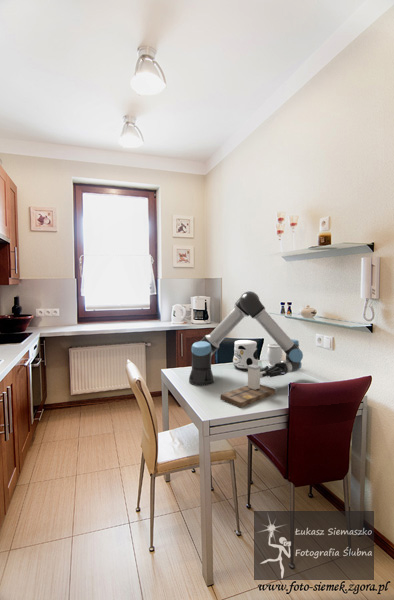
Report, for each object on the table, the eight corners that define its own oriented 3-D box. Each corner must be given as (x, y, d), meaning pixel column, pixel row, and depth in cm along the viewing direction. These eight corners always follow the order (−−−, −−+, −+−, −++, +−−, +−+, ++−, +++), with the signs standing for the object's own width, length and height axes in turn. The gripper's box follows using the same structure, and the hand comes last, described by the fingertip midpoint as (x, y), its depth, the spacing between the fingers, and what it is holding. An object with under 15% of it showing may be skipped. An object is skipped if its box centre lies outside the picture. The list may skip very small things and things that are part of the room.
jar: (279, 368, 218) (279, 347, 217) (265, 366, 224) (265, 345, 223) (284, 365, 227) (284, 344, 226) (270, 363, 233) (270, 342, 232)
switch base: (255, 387, 182) (255, 382, 182) (275, 393, 172) (275, 389, 172) (220, 399, 164) (220, 394, 164) (240, 407, 154) (240, 402, 154)
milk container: (228, 368, 219) (228, 342, 218) (240, 362, 234) (240, 338, 232) (251, 372, 210) (251, 345, 208) (262, 366, 224) (262, 341, 222)
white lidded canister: (252, 385, 176) (252, 364, 176) (260, 388, 172) (260, 366, 171) (247, 387, 173) (247, 365, 173) (255, 390, 169) (255, 367, 168)
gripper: (292, 376, 185) (267, 385, 170) (273, 371, 195) (248, 379, 179) (292, 364, 184) (267, 372, 169) (273, 359, 194) (248, 366, 179)
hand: (257, 376), depth 174 cm, fingers closed
